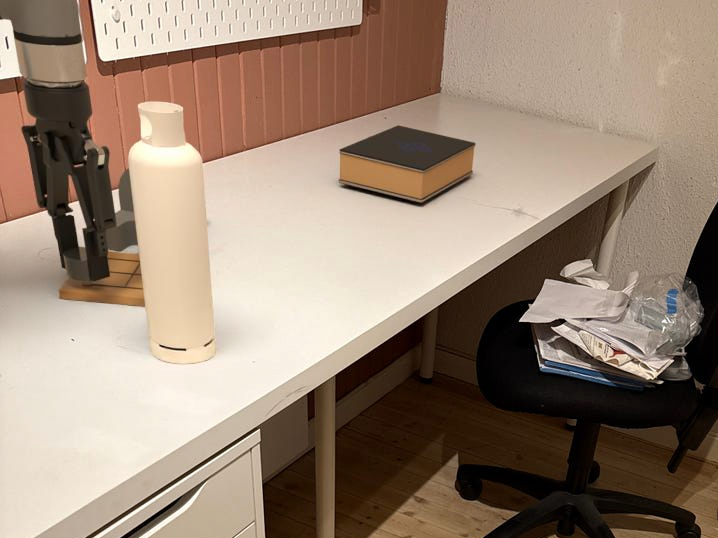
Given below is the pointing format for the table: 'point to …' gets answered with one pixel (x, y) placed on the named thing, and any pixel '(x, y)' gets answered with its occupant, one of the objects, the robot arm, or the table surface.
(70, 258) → the cylinder
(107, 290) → the board
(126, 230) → the bracket
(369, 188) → the book
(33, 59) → the robot arm
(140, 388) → the table surface
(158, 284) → the bottle
